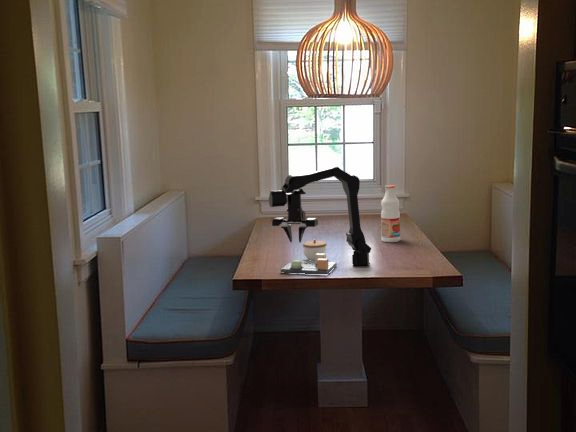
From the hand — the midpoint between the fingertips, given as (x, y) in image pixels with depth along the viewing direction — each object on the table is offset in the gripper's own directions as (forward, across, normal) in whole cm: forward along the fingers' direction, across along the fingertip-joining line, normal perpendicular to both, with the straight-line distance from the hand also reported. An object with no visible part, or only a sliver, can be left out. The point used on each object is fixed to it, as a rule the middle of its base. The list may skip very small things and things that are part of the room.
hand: (295, 242), depth 286 cm
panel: (+13, -4, -5) cm, 14 cm away
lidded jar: (+13, -1, -24) cm, 27 cm away
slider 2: (+11, -12, 0) cm, 16 cm away
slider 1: (+11, -8, -9) cm, 16 cm away
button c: (+11, 0, 0) cm, 11 cm away
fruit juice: (+13, -27, -71) cm, 77 cm away
